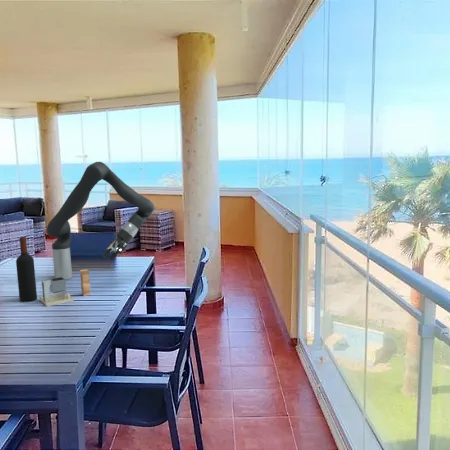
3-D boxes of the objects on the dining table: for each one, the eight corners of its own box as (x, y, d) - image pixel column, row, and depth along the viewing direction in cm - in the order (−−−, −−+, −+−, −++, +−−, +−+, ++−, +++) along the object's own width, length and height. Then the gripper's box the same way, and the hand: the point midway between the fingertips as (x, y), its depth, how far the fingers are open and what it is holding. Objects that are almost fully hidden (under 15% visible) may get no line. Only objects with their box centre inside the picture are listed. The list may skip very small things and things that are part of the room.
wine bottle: (18, 303, 198) (12, 239, 194) (21, 298, 206) (15, 236, 202) (35, 301, 200) (30, 237, 196) (38, 296, 208) (32, 235, 203)
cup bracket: (39, 300, 202) (37, 279, 201) (65, 294, 209) (64, 274, 208) (46, 306, 193) (44, 284, 191) (73, 300, 200) (71, 279, 198)
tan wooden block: (81, 294, 210) (80, 270, 208) (88, 293, 211) (86, 269, 210) (84, 295, 207) (82, 271, 205) (90, 294, 209) (88, 270, 207)
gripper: (116, 226, 223) (96, 251, 218) (128, 229, 212) (107, 255, 206) (126, 235, 227) (107, 260, 222) (138, 238, 215) (118, 264, 210)
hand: (107, 258), depth 214 cm, fingers open, 8 cm apart
